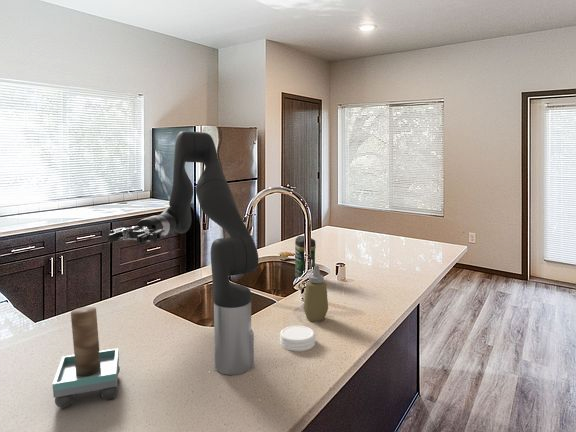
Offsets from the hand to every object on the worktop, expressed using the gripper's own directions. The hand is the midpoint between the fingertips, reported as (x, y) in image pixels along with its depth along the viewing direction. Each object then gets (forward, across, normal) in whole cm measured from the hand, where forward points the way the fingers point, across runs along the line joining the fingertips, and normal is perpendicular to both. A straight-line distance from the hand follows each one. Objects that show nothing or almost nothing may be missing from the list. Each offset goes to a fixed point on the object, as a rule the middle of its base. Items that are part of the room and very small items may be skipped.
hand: (123, 239), depth 110 cm
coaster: (-8, +47, +30) cm, 57 cm away
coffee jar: (-68, +42, +30) cm, 85 cm away
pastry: (-99, +29, +30) cm, 107 cm away
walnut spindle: (+23, +4, +25) cm, 34 cm away
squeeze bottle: (-26, +50, +30) cm, 64 cm away
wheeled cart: (+23, +4, +30) cm, 38 cm away
